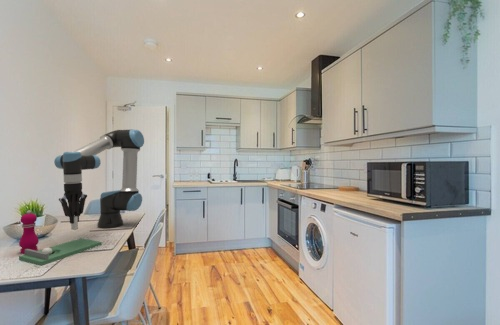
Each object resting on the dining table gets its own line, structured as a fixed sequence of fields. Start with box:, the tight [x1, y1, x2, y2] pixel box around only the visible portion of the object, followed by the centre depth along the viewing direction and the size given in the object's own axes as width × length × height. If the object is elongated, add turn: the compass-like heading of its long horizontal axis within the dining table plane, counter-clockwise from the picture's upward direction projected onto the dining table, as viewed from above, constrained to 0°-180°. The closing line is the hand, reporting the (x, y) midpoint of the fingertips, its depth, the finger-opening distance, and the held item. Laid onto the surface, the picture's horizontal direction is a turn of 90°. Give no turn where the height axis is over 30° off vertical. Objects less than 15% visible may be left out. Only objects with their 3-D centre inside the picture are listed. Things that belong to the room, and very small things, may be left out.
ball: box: [41, 247, 52, 255], centre depth 118 cm, size 4×4×4 cm
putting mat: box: [18, 238, 102, 266], centre depth 125 cm, size 28×16×4 cm, turn 158°
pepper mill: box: [18, 209, 40, 255], centre depth 125 cm, size 7×7×20 cm
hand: (74, 229), depth 130 cm, fingers closed
